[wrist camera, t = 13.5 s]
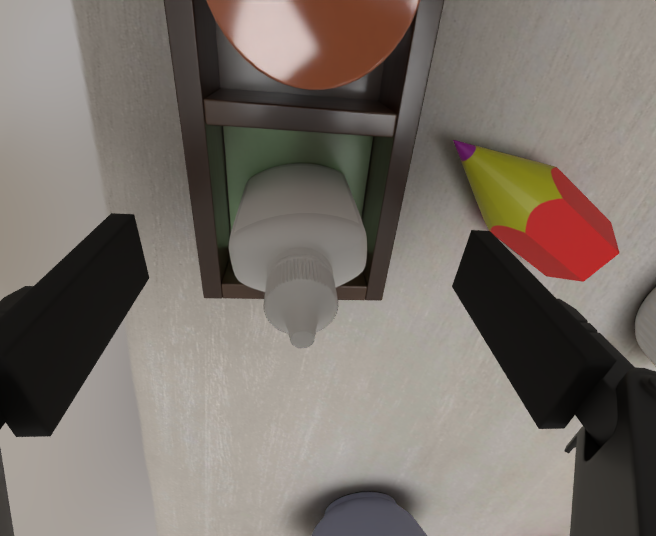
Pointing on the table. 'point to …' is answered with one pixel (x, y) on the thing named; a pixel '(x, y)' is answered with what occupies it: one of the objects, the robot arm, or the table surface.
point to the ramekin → (647, 326)
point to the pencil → (539, 213)
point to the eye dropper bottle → (298, 245)
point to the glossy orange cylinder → (314, 37)
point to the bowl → (367, 517)
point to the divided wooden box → (294, 137)
